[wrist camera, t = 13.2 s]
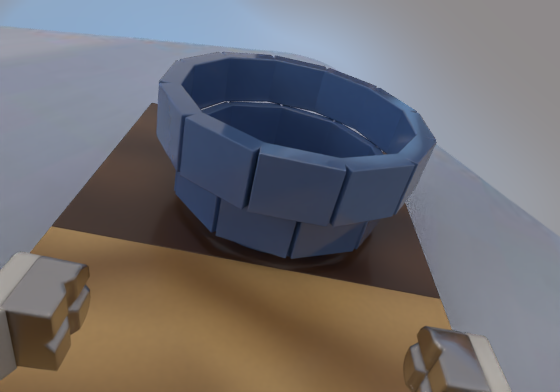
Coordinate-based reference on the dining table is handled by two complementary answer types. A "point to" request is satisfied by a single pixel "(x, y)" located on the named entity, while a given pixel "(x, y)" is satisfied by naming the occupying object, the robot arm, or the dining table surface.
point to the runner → (224, 326)
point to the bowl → (287, 151)
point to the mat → (198, 239)
